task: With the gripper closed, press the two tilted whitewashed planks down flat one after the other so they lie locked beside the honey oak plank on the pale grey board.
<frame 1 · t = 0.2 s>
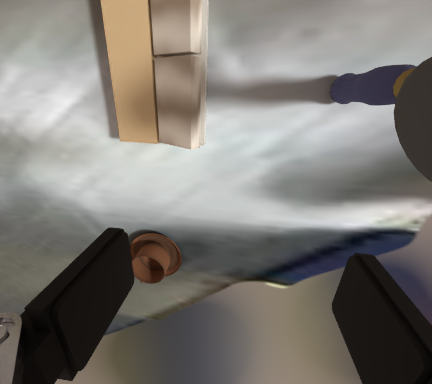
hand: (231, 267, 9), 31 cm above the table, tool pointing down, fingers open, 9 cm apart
cup and saucer: (158, 250, 50), on the table
rubber mallet: (340, 89, 33), on the table
floor board: (163, 60, 34), on the table
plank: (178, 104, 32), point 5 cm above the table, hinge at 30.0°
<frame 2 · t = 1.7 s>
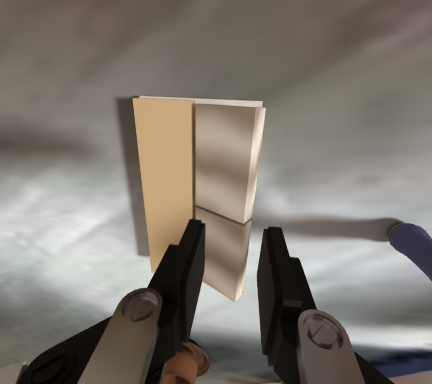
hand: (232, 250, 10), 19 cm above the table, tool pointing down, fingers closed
cup and saucer: (183, 350, 47), on the table
rubber mallet: (398, 229, 29), on the table
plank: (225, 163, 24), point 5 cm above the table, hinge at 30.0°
floor board: (200, 193, 31), on the table
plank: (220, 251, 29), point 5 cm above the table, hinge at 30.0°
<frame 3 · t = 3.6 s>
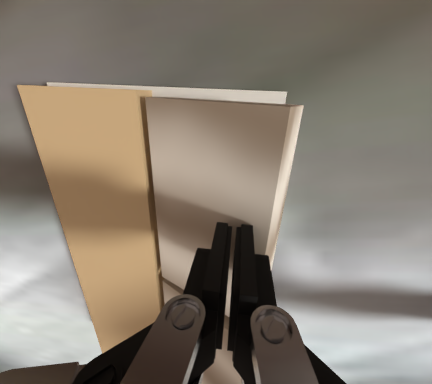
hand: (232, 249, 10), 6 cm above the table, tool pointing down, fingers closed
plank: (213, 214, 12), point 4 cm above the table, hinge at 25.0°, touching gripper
floor board: (177, 245, 19), on the table
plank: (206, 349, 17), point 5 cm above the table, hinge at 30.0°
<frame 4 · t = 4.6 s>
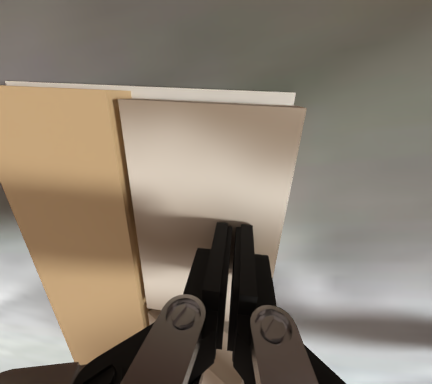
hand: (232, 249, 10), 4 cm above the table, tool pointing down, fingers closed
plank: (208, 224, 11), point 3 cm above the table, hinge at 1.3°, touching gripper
floor board: (167, 266, 17), on the table
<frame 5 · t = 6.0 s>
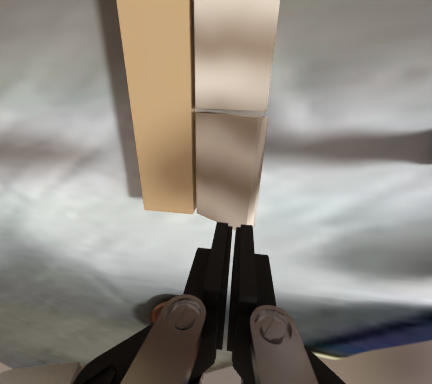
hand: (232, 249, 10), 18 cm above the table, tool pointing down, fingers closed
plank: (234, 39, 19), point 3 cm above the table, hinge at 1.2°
floor board: (202, 107, 25), on the table
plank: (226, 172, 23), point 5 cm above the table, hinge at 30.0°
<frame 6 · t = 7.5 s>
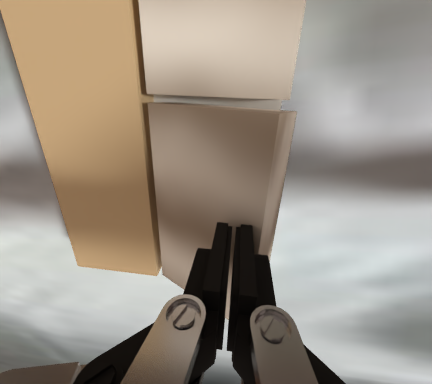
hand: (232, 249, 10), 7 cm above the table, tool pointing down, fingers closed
floor board: (170, 97, 14), on the table
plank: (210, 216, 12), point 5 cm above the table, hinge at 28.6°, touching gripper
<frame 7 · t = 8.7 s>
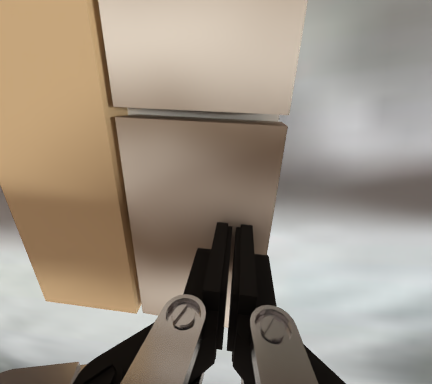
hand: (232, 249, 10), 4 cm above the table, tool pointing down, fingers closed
floor board: (149, 108, 12), on the table
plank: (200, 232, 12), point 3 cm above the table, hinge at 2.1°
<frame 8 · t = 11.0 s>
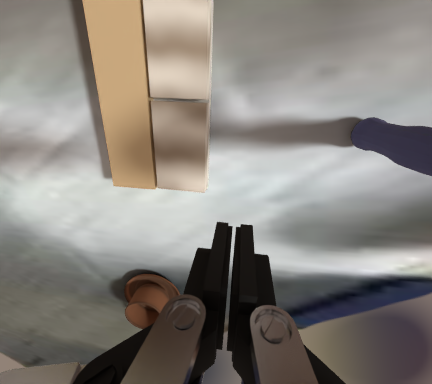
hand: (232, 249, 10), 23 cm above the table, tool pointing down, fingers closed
cup and saucer: (156, 289, 46), on the table
rubber mallet: (361, 131, 29), on the table
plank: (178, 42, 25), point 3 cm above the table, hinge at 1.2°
floor board: (161, 98, 30), on the table
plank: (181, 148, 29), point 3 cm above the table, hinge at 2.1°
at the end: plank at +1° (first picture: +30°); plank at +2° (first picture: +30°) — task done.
